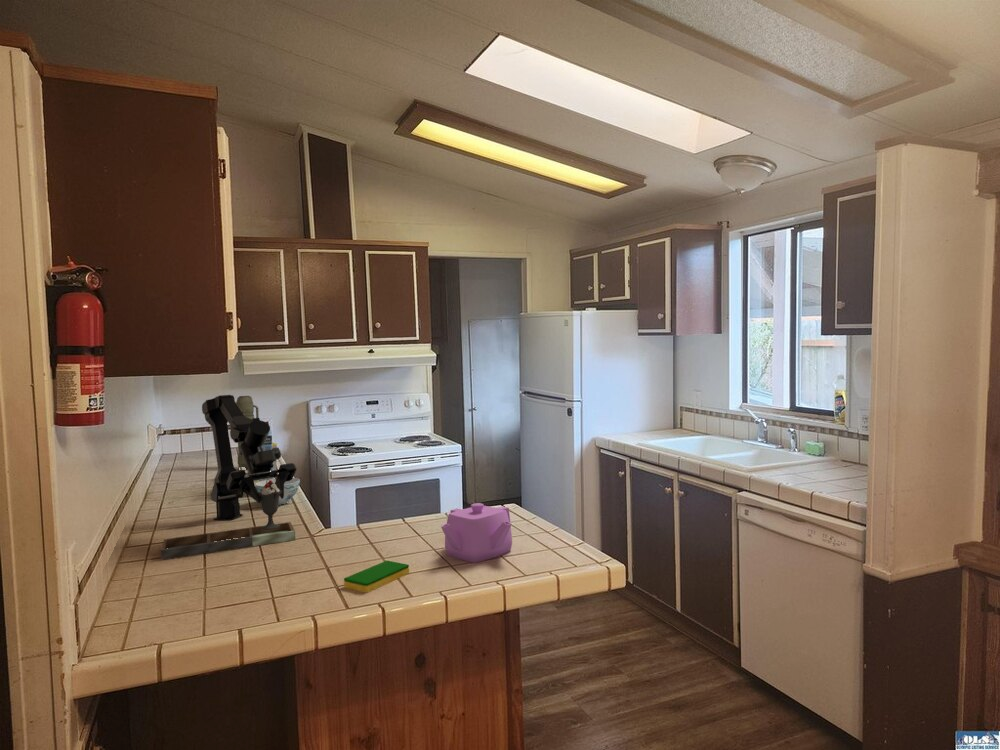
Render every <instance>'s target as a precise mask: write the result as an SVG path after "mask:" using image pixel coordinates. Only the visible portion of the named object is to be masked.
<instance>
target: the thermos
mask: <svg viewBox="0 0 1000 750" xmlns="http://www.w3.org/2000/svg"><path fill="white" fill-rule="evenodd" d="M235 402H236V404H237V405H238V407H239V408H240V410H241V411H242V413H243V414H244V416H245V417H247V418H250V419H252V418H259V419H260V417H259V415H260V414H259V407H258V406H257V405H255V404H254V401H253V397H252V396H250V395H239V396H238V397H237V399H236V401H235ZM254 408H255V411H254ZM254 412H255V415H254ZM255 416H256V417H255ZM242 443H243V442H239V443H237V447H238V448H237V451H238V452H237V453H238V454H237V465H238V466H237V467H245V466H246V463H245V460H244V457H243V455H240V451H241V450H240V446H241V444H242Z"/></svg>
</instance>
